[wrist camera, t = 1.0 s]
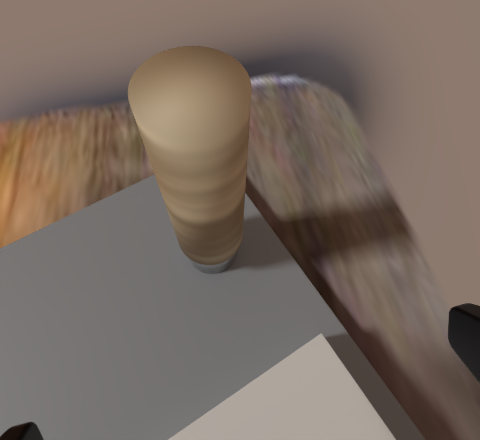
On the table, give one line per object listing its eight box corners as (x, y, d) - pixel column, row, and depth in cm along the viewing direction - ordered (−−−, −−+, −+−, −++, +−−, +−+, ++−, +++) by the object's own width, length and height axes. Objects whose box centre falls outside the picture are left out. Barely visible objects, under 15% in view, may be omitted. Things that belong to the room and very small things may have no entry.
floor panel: (452, 489, 18) (468, 495, 17) (-117, 1029, 11) (-157, 1102, 10) (212, 157, 27) (211, 146, 26) (-184, 350, 20) (-209, 347, 19)
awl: (252, 259, 22) (275, 103, 10) (201, 290, 21) (162, 156, 9) (222, 215, 23) (212, 32, 11) (173, 242, 22) (108, 72, 11)
